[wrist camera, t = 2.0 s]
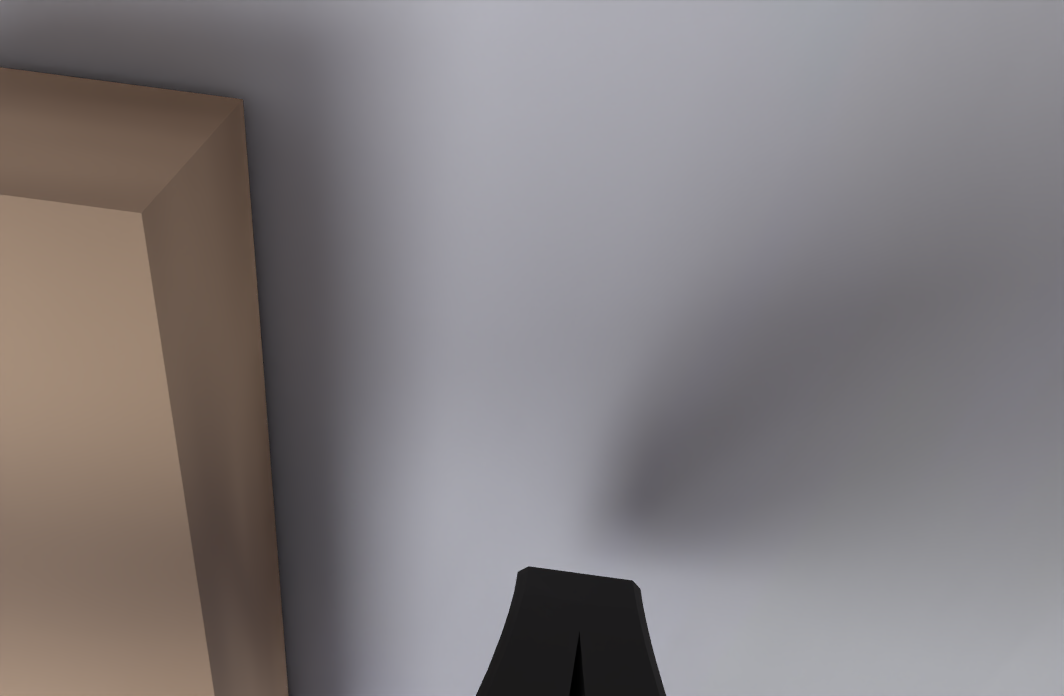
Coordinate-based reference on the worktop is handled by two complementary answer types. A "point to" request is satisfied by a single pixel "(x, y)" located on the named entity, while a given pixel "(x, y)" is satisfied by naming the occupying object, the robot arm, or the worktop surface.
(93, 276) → the link
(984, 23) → the worktop surface
